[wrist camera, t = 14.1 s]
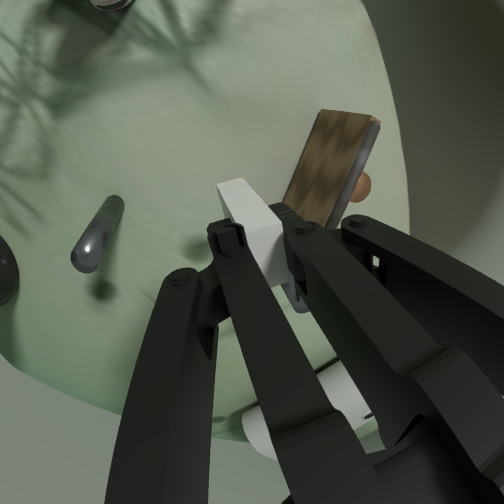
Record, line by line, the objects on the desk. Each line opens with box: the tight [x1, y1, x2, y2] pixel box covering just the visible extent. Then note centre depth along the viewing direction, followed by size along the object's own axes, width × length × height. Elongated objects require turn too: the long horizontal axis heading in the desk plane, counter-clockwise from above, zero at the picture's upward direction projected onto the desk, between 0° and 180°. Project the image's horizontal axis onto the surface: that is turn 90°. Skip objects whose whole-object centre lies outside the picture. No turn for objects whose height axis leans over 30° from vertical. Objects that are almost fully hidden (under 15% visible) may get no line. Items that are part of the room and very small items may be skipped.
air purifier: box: [242, 360, 375, 460], centre depth 63 cm, size 27×17×40 cm
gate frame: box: [71, 171, 371, 313], centre depth 32 cm, size 18×30×15 cm, turn 68°
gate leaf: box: [283, 109, 381, 230], centre depth 34 cm, size 20×2×13 cm, turn 159°
